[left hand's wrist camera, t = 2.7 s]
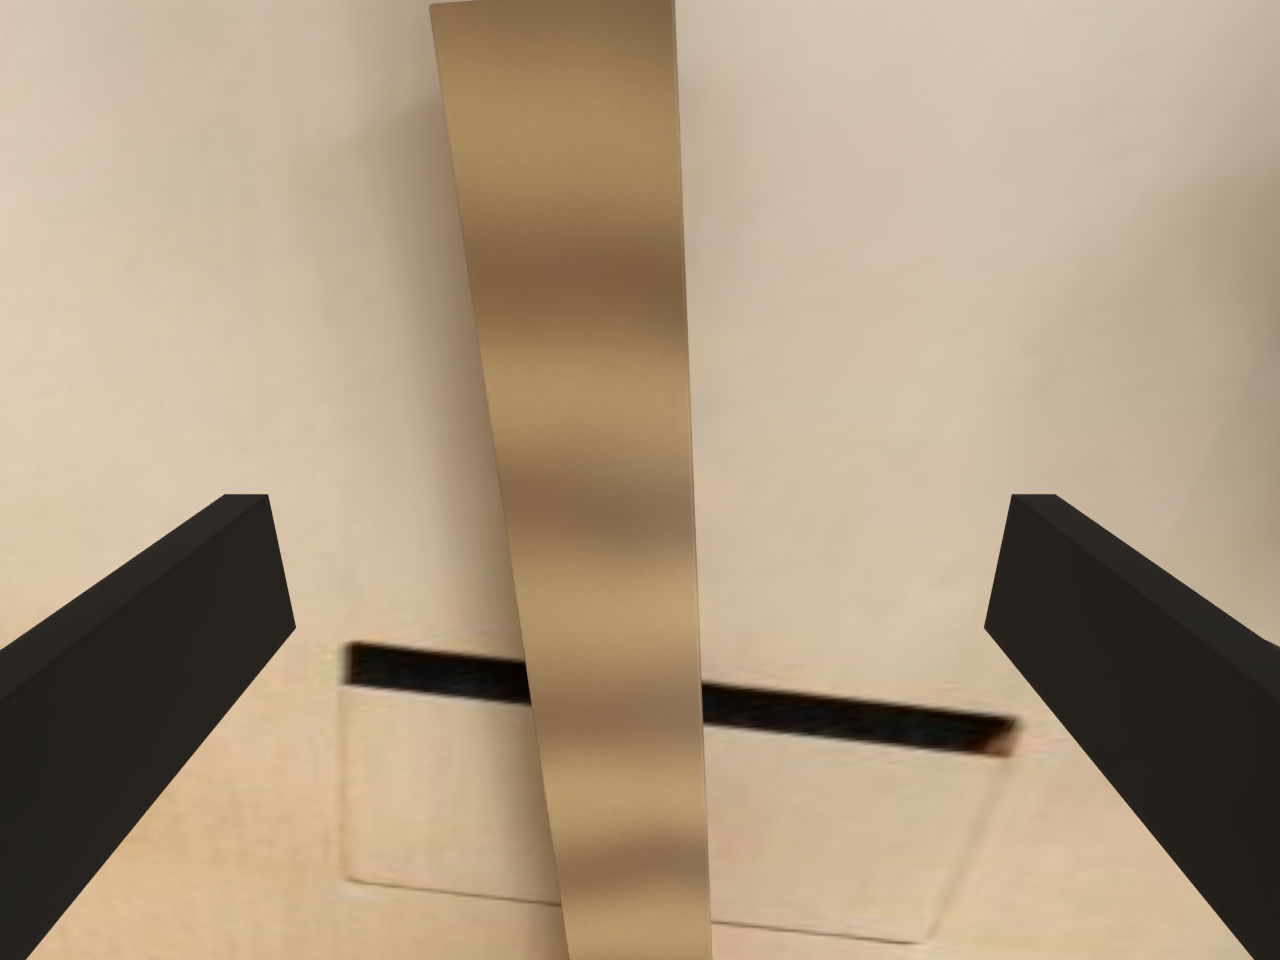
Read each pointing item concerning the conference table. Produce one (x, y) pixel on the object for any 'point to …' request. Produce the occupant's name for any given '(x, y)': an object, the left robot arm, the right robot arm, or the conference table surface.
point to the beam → (592, 437)
